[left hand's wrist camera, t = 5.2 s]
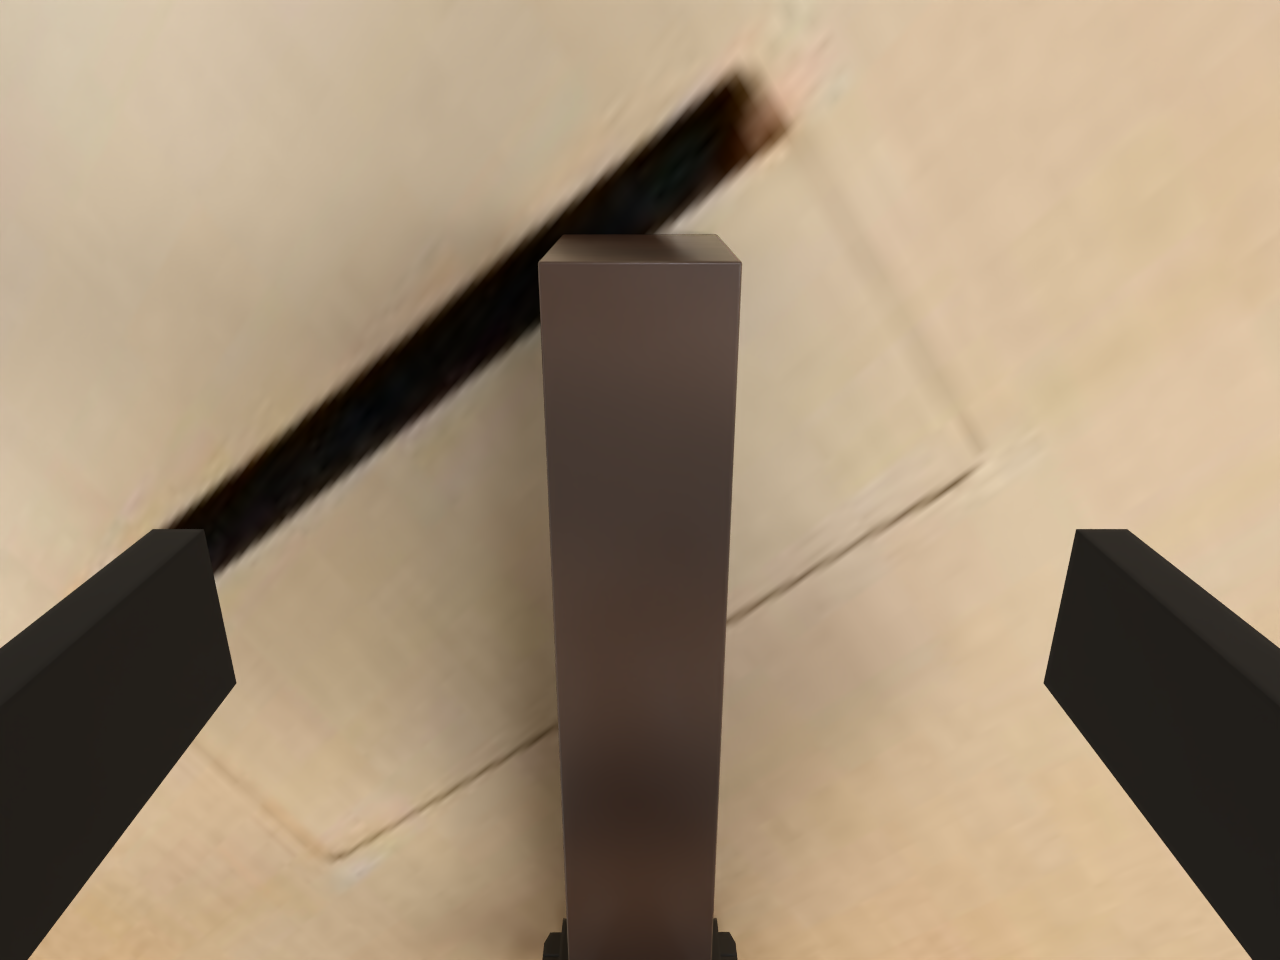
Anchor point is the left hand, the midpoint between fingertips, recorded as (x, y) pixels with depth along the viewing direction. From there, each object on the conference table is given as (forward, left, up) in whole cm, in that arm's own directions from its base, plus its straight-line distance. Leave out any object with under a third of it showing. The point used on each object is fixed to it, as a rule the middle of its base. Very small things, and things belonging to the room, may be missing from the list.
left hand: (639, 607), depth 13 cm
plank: (+12, 0, -17) cm, 21 cm away
